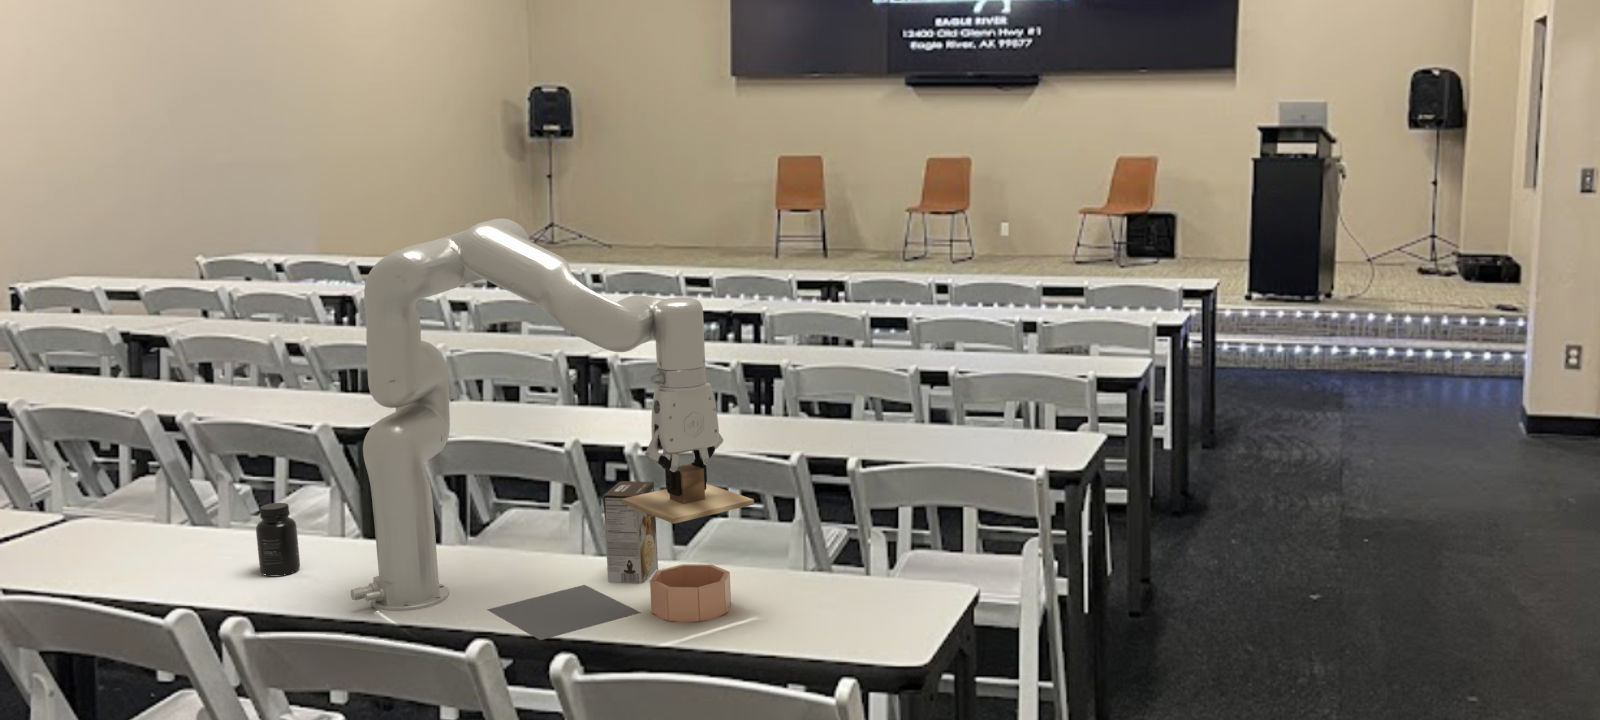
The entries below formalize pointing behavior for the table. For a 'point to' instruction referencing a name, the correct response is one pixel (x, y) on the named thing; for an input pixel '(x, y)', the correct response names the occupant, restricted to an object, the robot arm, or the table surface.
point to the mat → (563, 612)
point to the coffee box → (629, 535)
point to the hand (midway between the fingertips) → (686, 490)
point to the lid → (688, 499)
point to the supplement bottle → (277, 540)
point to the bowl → (690, 593)
